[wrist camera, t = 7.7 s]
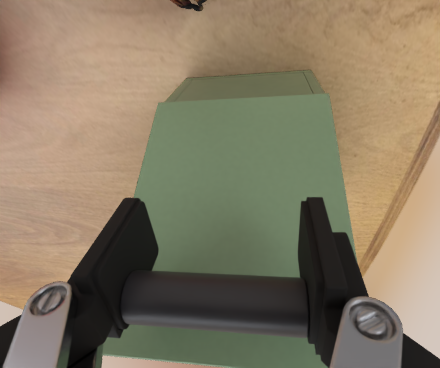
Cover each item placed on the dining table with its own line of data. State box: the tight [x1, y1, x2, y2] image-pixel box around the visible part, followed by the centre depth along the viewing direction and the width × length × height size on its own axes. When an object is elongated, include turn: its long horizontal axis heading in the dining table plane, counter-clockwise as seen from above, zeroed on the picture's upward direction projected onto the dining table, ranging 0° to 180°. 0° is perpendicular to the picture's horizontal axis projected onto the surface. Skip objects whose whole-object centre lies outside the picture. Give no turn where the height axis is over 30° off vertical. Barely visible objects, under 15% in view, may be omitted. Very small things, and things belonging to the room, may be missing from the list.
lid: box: [102, 93, 357, 368], centre depth 14 cm, size 15×12×5 cm
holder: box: [165, 70, 325, 102], centre depth 27 cm, size 15×12×8 cm
